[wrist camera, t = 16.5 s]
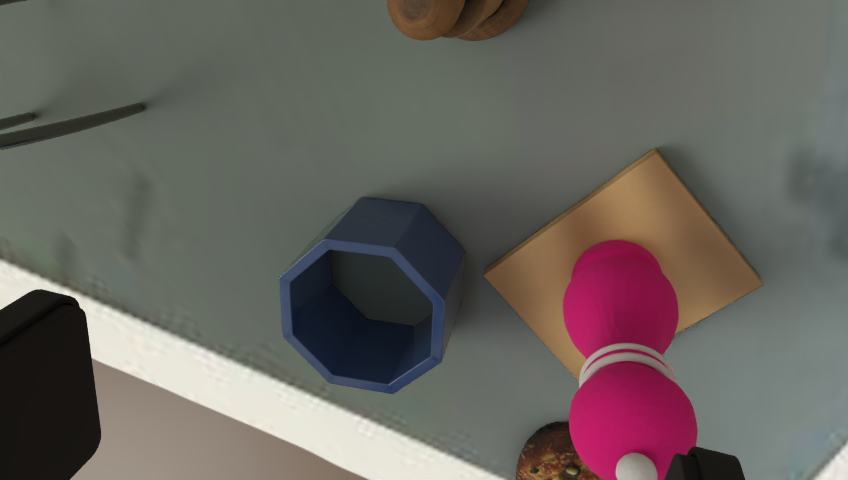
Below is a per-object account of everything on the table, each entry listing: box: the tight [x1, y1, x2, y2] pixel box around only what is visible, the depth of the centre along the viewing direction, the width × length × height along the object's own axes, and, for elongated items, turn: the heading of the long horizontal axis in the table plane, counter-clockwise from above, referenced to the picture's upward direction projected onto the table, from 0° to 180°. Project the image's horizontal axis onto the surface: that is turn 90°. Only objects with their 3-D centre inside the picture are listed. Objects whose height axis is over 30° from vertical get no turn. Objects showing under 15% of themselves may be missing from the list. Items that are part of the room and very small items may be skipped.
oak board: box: [483, 148, 763, 381], centre depth 46 cm, size 15×12×1 cm
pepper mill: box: [563, 240, 697, 480], centre depth 37 cm, size 7×7×20 cm
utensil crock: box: [279, 197, 465, 394], centre depth 47 cm, size 12×12×8 cm
